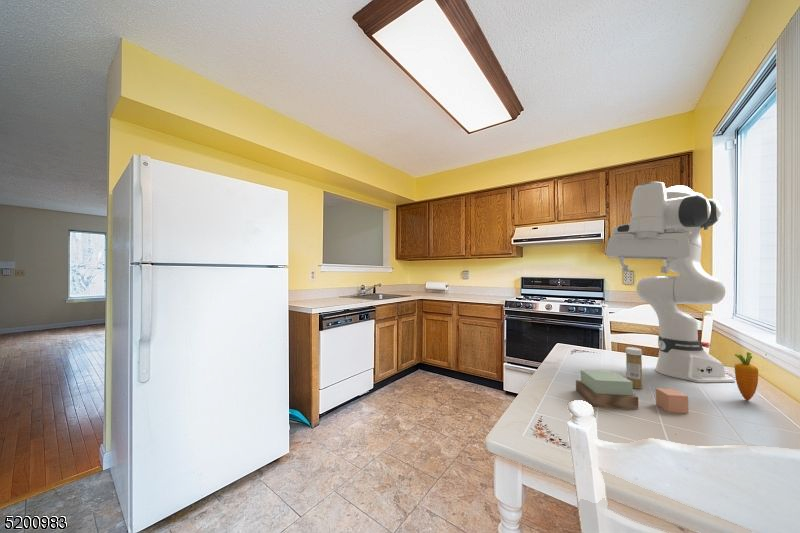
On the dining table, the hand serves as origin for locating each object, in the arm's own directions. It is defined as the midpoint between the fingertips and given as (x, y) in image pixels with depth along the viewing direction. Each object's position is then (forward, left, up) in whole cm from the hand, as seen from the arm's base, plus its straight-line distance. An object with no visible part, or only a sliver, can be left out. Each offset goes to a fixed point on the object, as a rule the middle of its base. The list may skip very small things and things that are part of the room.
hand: (643, 272), depth 92 cm
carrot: (-32, -6, -41) cm, 52 cm away
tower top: (+12, 0, -37) cm, 39 cm away
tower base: (+12, 0, -41) cm, 42 cm away
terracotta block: (-4, +4, -41) cm, 41 cm away
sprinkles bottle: (-4, -13, -41) cm, 43 cm away
